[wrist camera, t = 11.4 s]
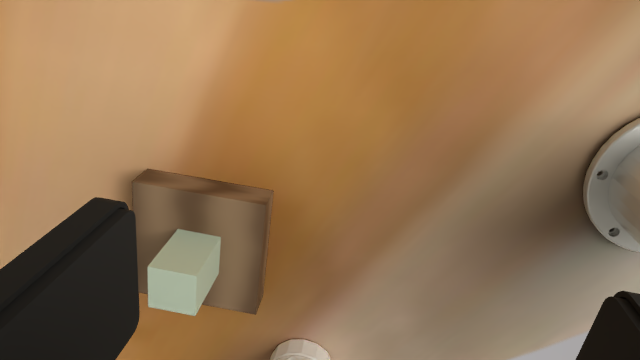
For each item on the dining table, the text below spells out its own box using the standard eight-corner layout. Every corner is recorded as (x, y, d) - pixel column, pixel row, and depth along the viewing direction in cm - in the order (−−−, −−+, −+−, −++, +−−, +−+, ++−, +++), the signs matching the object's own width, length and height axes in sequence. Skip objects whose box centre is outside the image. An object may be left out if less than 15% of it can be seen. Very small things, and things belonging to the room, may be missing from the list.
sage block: (221, 237, 42) (196, 276, 36) (218, 273, 43) (195, 315, 38) (177, 229, 42) (147, 266, 37) (177, 265, 44) (148, 306, 38)
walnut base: (273, 190, 43) (266, 205, 40) (263, 295, 48) (255, 314, 45) (147, 168, 43) (131, 181, 41) (150, 274, 48) (136, 292, 46)
